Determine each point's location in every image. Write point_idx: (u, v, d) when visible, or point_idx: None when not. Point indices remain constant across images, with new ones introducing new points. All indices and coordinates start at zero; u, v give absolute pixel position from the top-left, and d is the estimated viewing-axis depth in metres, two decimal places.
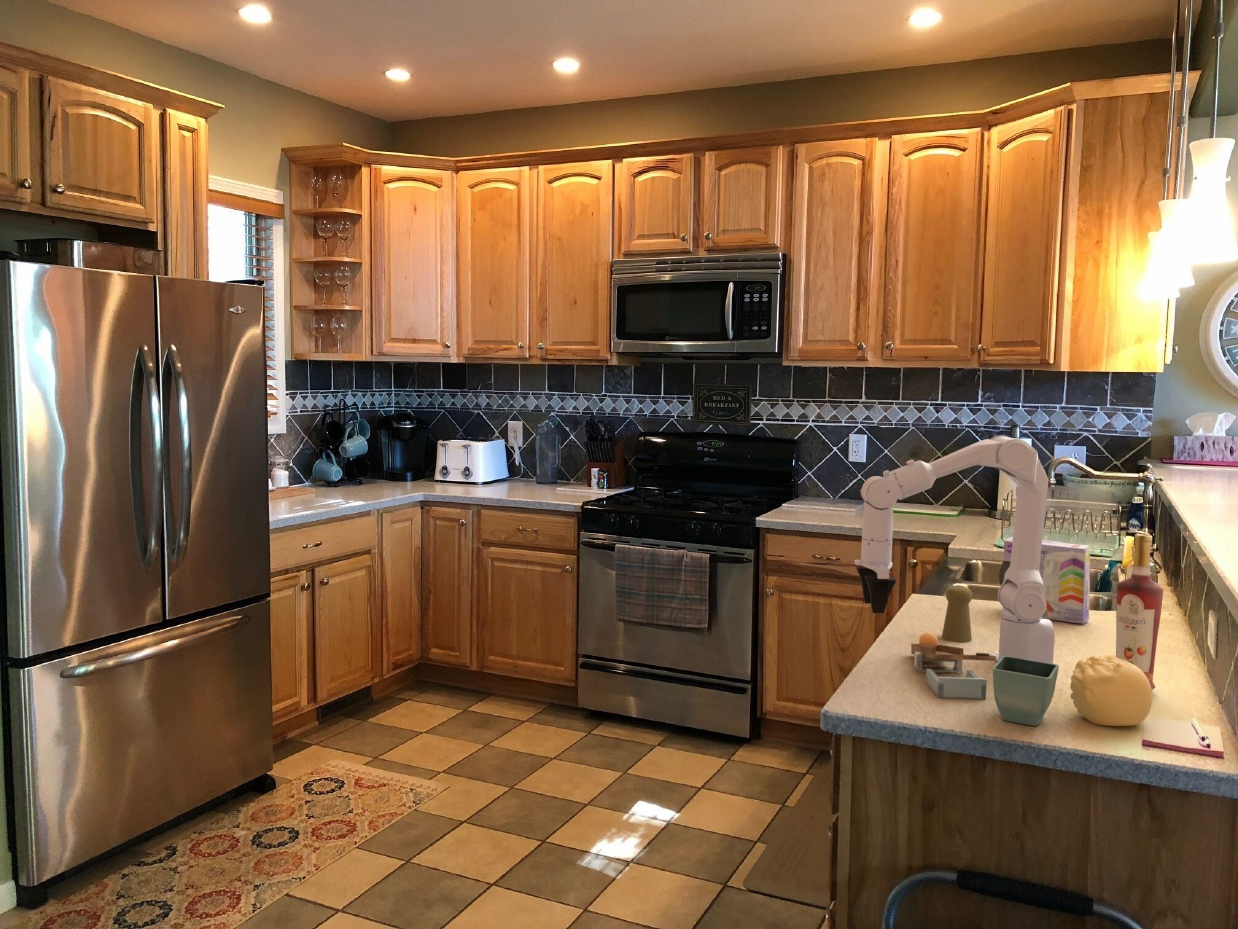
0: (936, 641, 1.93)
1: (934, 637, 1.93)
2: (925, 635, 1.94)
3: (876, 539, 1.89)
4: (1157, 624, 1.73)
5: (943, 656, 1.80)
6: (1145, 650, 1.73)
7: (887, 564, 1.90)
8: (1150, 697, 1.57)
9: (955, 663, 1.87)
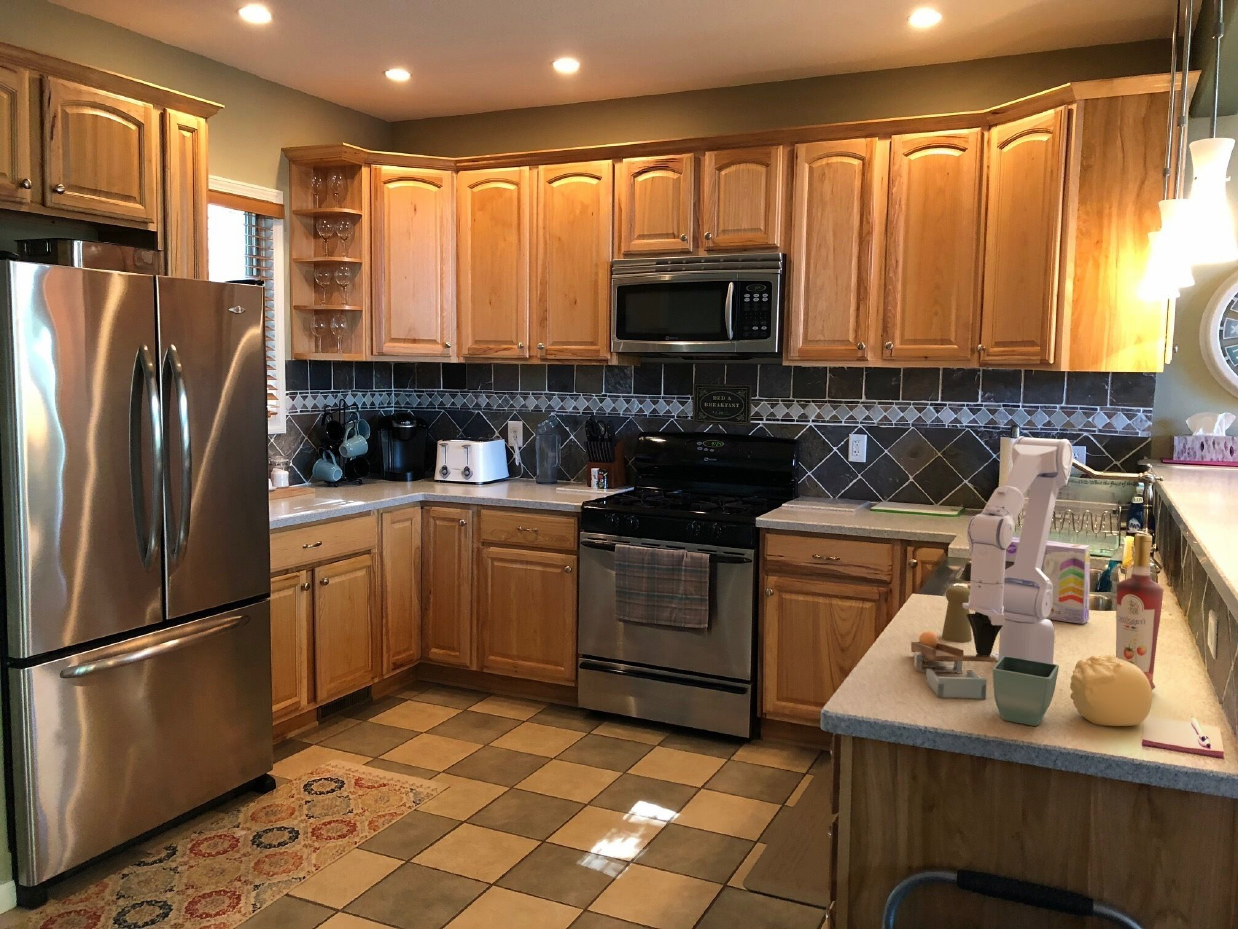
0: (936, 640, 1.93)
1: (934, 636, 1.93)
2: (925, 634, 1.94)
3: (1000, 582, 1.77)
4: (1157, 624, 1.73)
5: (943, 657, 1.80)
6: (1145, 650, 1.73)
7: (999, 608, 1.77)
8: (1150, 697, 1.57)
9: (955, 663, 1.87)
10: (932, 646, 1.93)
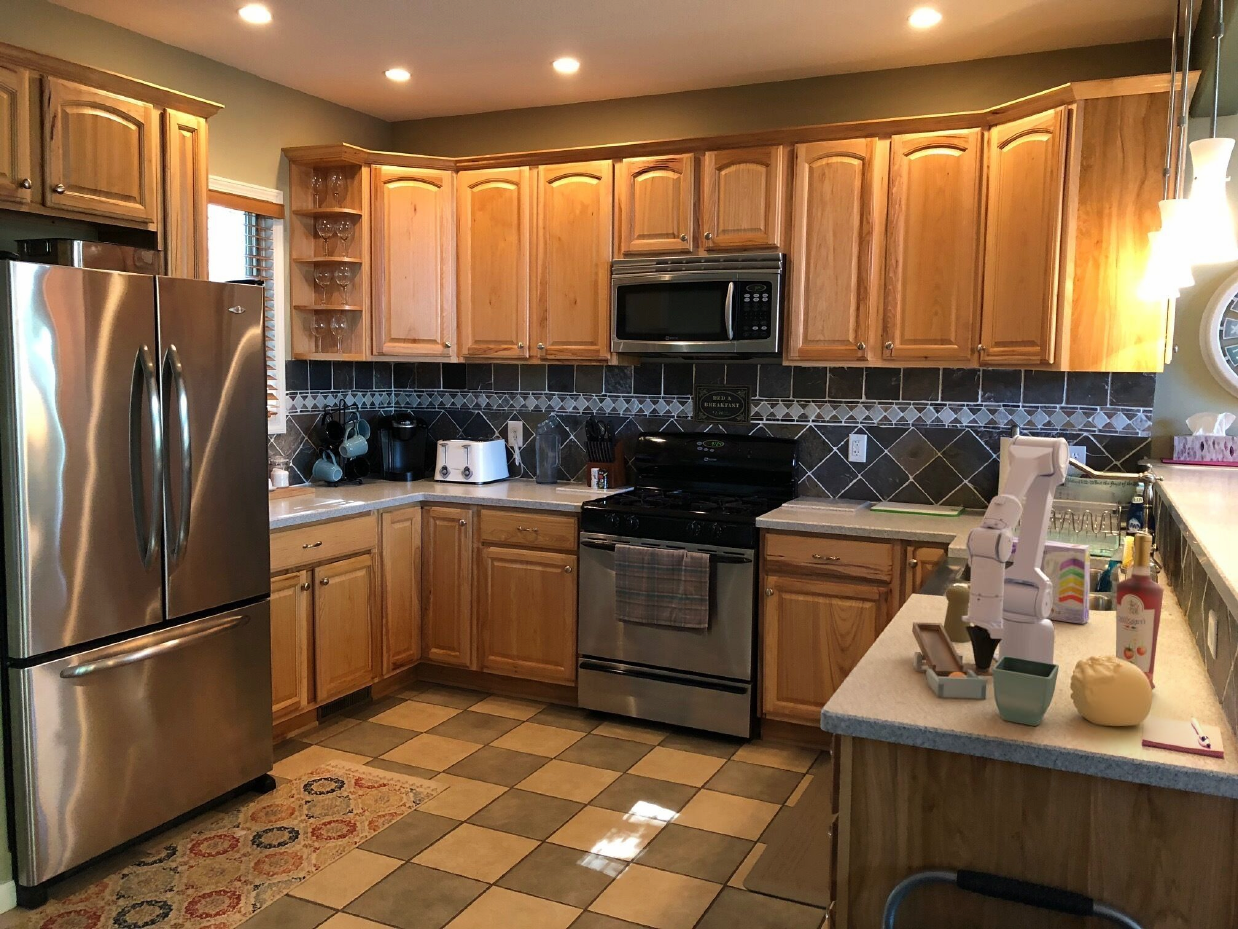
0: None
1: None
2: None
3: (999, 595, 1.77)
4: (1157, 624, 1.73)
5: (942, 672, 1.81)
6: (1145, 650, 1.73)
7: (998, 621, 1.78)
8: (1150, 697, 1.57)
9: None
10: None
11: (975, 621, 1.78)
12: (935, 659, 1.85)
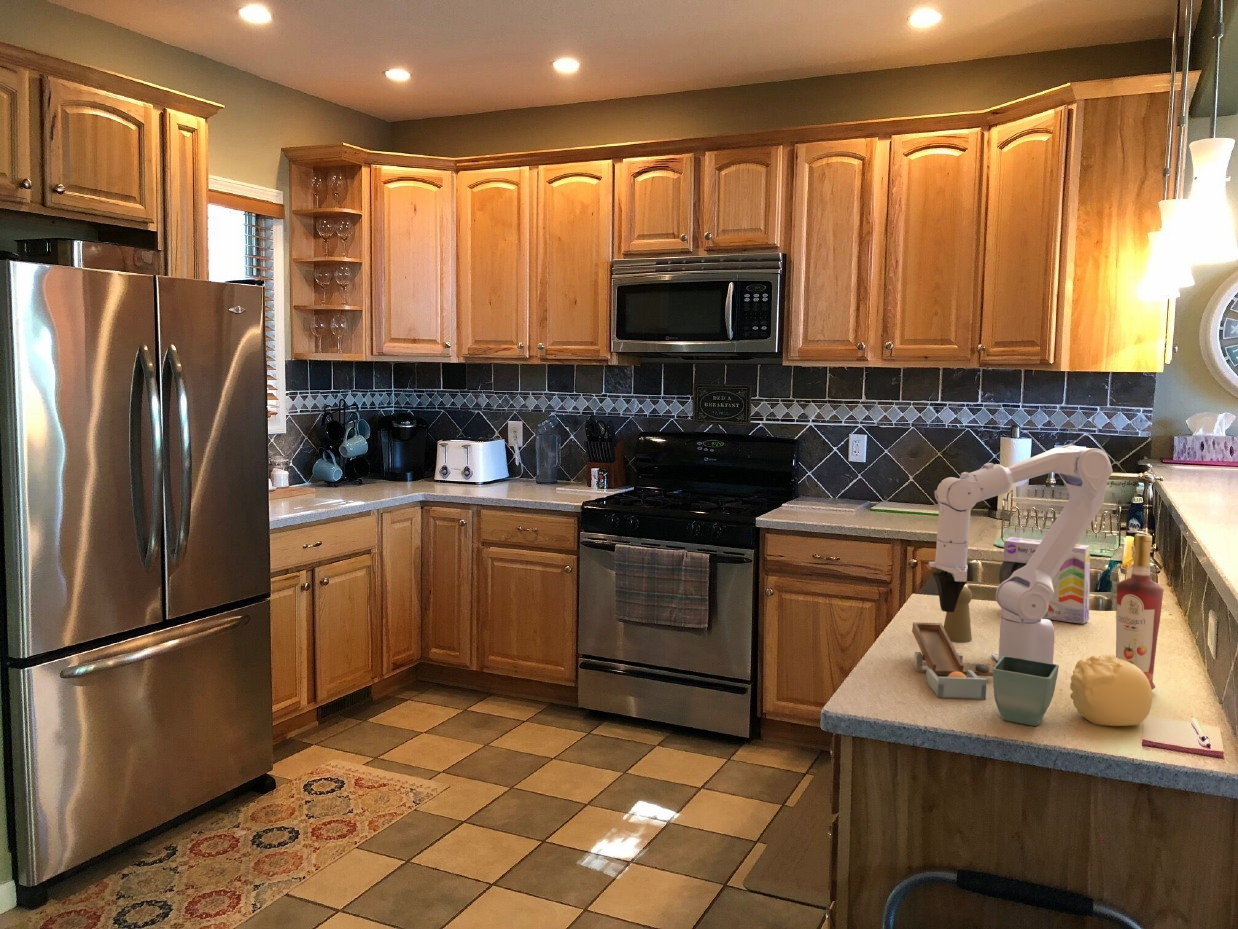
0: None
1: None
2: None
3: (955, 541, 1.86)
4: (1157, 624, 1.73)
5: (942, 672, 1.81)
6: (1145, 650, 1.73)
7: (963, 567, 1.87)
8: (1150, 697, 1.57)
9: None
10: None
11: (941, 566, 1.87)
12: (935, 659, 1.85)
